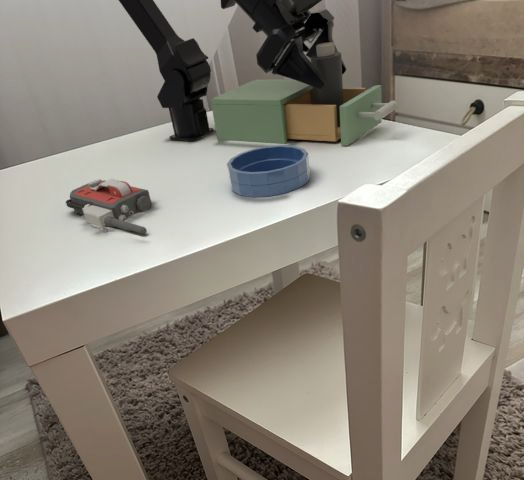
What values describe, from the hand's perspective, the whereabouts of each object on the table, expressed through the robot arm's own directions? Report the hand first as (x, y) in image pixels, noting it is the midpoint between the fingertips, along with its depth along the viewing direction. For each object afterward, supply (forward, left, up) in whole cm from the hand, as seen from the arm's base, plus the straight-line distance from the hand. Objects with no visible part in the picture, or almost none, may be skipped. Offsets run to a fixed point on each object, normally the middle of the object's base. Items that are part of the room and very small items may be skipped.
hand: (334, 79), depth 84 cm
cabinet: (-13, 0, -9) cm, 16 cm away
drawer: (+1, 0, -8) cm, 8 cm away
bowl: (+1, -22, -9) cm, 24 cm away
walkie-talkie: (-14, -38, -9) cm, 41 cm away
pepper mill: (-1, 0, -7) cm, 7 cm away
